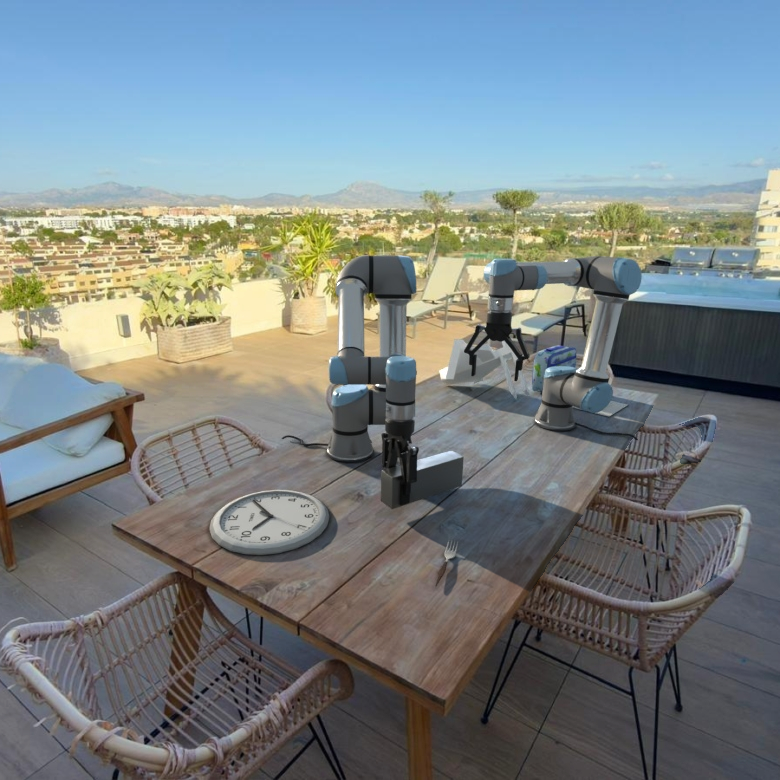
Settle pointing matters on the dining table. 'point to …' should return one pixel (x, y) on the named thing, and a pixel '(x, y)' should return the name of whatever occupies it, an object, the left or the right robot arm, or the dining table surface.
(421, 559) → the dining table surface
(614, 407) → the invitation card
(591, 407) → the right robot arm
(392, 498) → the bar
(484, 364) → the white plastic object
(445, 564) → the fork
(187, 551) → the dining table surface
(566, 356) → the lunch box
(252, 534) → the wall clock
